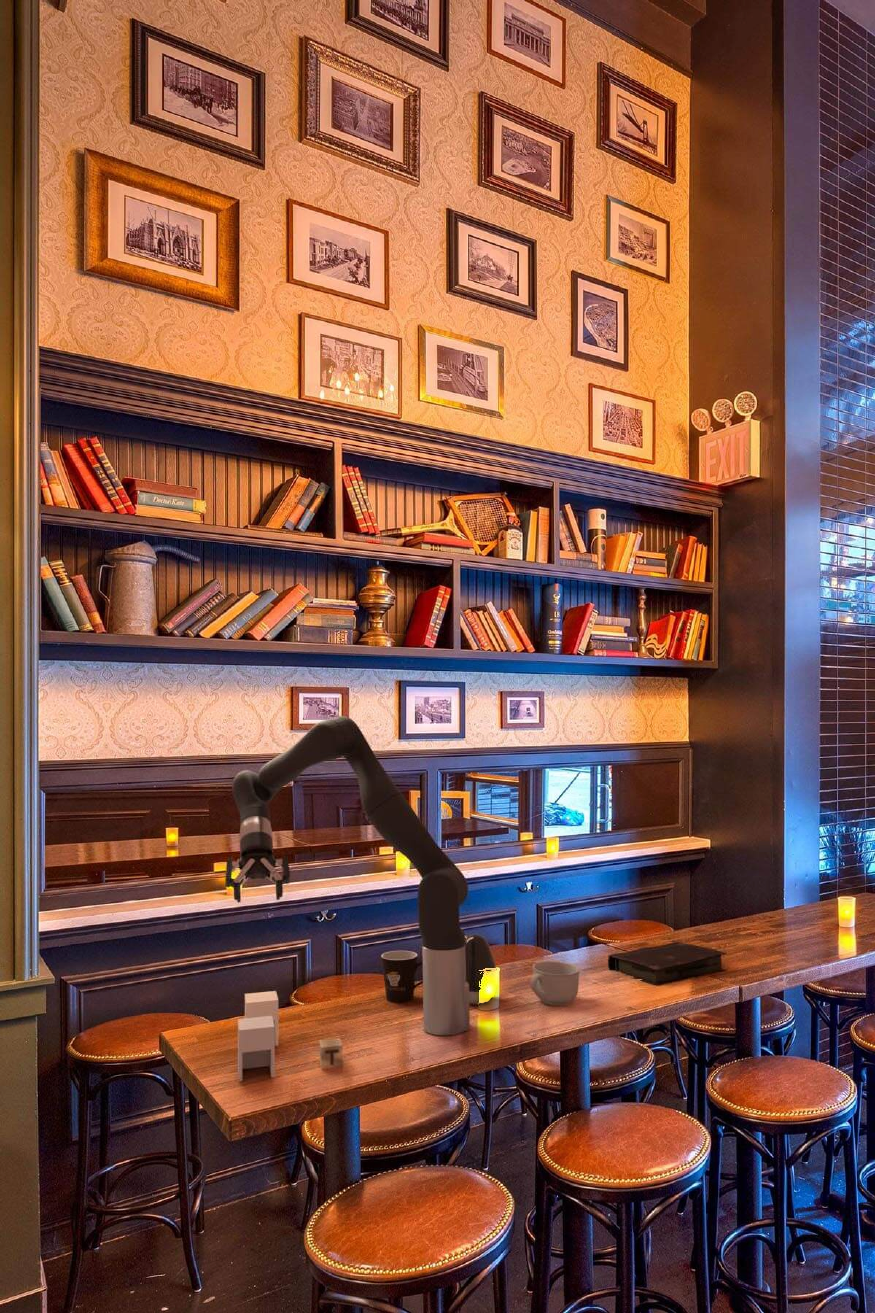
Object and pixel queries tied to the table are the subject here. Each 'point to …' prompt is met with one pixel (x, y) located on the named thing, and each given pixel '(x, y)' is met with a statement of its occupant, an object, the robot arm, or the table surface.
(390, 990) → the coffee mug
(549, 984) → the teacup
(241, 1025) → the grey cover
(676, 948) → the diary
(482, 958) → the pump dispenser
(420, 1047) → the table surface
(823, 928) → the table surface
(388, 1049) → the table surface
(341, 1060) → the letter cube
